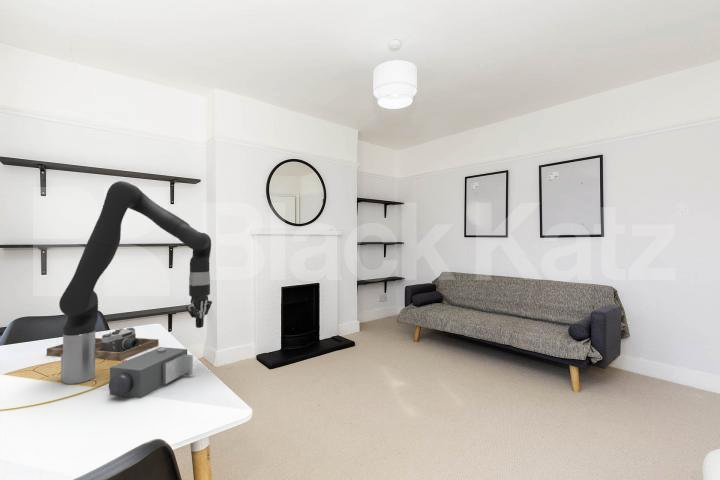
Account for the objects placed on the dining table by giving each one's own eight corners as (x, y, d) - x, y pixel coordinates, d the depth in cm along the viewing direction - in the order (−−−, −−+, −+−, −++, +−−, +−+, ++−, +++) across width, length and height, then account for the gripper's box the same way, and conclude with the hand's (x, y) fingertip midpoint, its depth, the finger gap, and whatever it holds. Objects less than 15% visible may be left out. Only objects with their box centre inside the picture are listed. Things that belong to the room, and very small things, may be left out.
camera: (118, 358, 150) (118, 335, 150) (99, 356, 152) (99, 333, 152) (147, 347, 165) (147, 326, 165) (129, 345, 167) (129, 325, 167)
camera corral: (91, 357, 150) (91, 350, 150) (132, 343, 170) (132, 337, 170) (120, 360, 147) (120, 353, 147) (158, 345, 167) (158, 339, 167)
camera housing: (101, 398, 112) (101, 368, 112) (160, 369, 137) (160, 345, 137) (133, 402, 110) (133, 371, 110) (187, 372, 134) (187, 347, 134)
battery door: (162, 383, 121) (162, 363, 121) (182, 372, 131) (182, 354, 131) (173, 384, 121) (173, 364, 120) (192, 373, 130) (192, 355, 130)
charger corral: (46, 355, 153) (46, 348, 153) (86, 343, 170) (86, 337, 170) (74, 357, 150) (74, 350, 150) (111, 345, 167) (111, 339, 167)
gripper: (202, 281, 144) (202, 322, 144) (179, 285, 131) (179, 331, 131) (218, 281, 142) (218, 323, 142) (197, 285, 129) (196, 332, 129)
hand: (199, 327), depth 136 cm, fingers closed
